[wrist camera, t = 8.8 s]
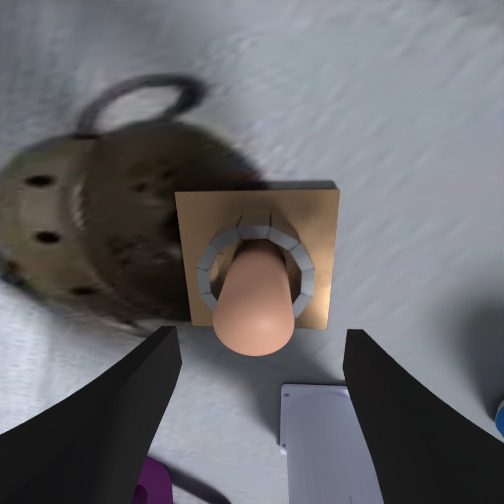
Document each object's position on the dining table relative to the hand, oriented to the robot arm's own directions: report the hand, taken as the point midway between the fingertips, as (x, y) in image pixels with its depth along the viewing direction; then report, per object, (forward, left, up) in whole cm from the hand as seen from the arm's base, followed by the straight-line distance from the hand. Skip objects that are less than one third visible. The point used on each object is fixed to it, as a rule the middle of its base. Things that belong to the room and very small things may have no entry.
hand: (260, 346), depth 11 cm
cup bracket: (0, +1, -9) cm, 9 cm away
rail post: (0, 0, -9) cm, 9 cm away
